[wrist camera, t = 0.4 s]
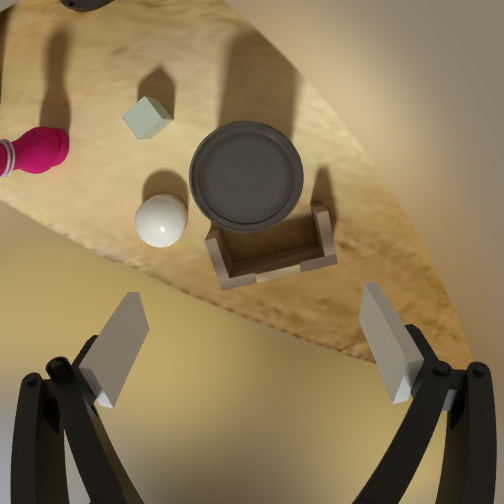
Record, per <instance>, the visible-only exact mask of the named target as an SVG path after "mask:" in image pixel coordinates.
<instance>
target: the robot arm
mask: <svg viewBox="0 0 504 504" xmlns="http://www.w3.org/2000/svg"><path fill="white" fill-rule="evenodd" d="M112 1H113V0H60V2H61V3H62V4H63V5H64V6H65V7H67V8H69V9H71V10H74V11H77V12H87V11H92V10H95V9H98V8H101V7H103V6H105V5H107V4H109V3H110V2H112ZM359 323H360V325H361V328H362V330H363V332H364V334H365V337H366V339H367V342H368V344H369V346H370V349H371V351H372V353H373V356H374V358H375V361H376V363H377V366H378V368H379V371H380V373H381V376H382V378H383V381H384V383H385V386H386V388H387V391H388V393H389V396H390V399H391V401H392V404H395V403H399V402H404V401H407V399H408V397H409V395H410V393H411V395H412V397H413V401H412V403H411V405H410V407H409V409H408V411H407V414H406V415H405V418H404V420H403V422H402V424H401V425H400V427H399V429H398V431H397V433H396V435H395V437H394V439H393V440H392V442H391V444H390V446H389V447H388V449H387V451H386V453H385V454H384V456H383V458H382V459H381V461H380V463H379V464H378V466H377V467H376V469H375V471H374V472H373V474H372V475H371V477H370V478H369V480H368V481H367V483H366V484H365V486H364V487H363V489H362V490H361V492H360V493H359V495H358V496H357V497H356V499H355V500H354V501H353V503H352V504H398V503H399V501H400V500H401V498H402V496H403V494H404V493H405V491H406V489H407V487H408V485H409V483H410V481H411V480H412V478H413V476H414V474H415V472H416V470H417V468H418V466H419V464H420V461H421V459H422V457H423V455H424V453H425V451H426V448H427V446H428V444H429V442H430V439H431V436H432V434H433V432H434V429H435V427H436V424H437V422H438V419H439V416H440V414H441V411H447V427H446V440H445V449H444V457H443V464H442V471H441V477H440V483H439V488H438V493H437V498H436V503H435V504H493V503H494V494H495V481H496V460H497V459H496V458H497V449H496V448H497V447H496V446H497V439H496V417H495V404H494V394H493V386H492V378H491V372H490V369H489V368H488V367H487V365H485V364H484V363H481V362H472V363H470V365H469V366H468V368H467V370H455V369H452V367H451V366H450V365H449V364H448V363H446V362H444V361H439V360H438V358H437V356H436V355H435V353H434V351H433V350H432V348H431V347H430V345H429V343H427V340H426V339H425V337H424V335H423V334H422V332H421V331H420V329H418V328H417V327H416V326H414V325H413V324H409V325H404V324H403V323H402V321H401V319H400V318H399V316H398V314H397V313H396V311H395V310H394V308H393V306H392V305H391V303H390V302H389V300H388V299H387V297H386V295H385V294H384V292H383V291H382V289H381V288H380V286H379V285H378V283H377V282H368V283H364V290H363V297H362V304H361V311H360V318H359ZM148 331H149V325H148V322H147V319H146V315H145V312H144V308H143V305H142V301H141V298H140V294H139V292H128V293H127V294H126V296H125V297H124V298H123V300H122V301H121V303H120V304H119V306H118V307H117V308H116V310H115V311H114V313H113V314H112V316H111V317H110V319H109V320H108V322H107V323H106V325H105V326H104V328H103V329H102V331H101V332H100V334H99V335H94V336H92V337H91V338H90V339H89V340H88V341H87V342H86V343H85V345H84V346H83V348H82V349H81V351H80V353H79V354H78V356H77V357H76V358H75V360H74V362H73V363H72V365H70V363H69V361H68V359H67V358H65V357H56V358H54V359H52V360H51V361H49V362H48V364H47V365H46V371H47V373H48V375H49V376H50V378H51V379H45V380H43V379H42V377H41V376H40V374H38V373H30V374H28V375H27V376H25V377H24V379H23V380H22V383H21V388H20V393H19V398H18V404H17V410H16V417H15V425H14V433H13V444H12V457H11V504H70V503H69V496H68V488H67V478H66V468H65V451H64V429H65V432H66V436H67V439H68V442H69V445H70V448H71V451H72V454H73V457H74V460H75V463H76V466H77V468H78V471H79V473H80V476H81V478H82V481H83V484H84V486H85V488H86V491H87V493H88V495H89V497H90V500H91V502H90V503H89V504H144V502H143V501H142V499H141V497H140V496H139V494H138V493H137V491H136V489H135V487H134V486H133V484H132V482H131V480H130V479H129V477H128V475H127V473H126V471H125V469H124V467H123V466H122V464H121V462H120V460H119V458H118V456H117V454H116V452H115V450H114V448H113V446H112V444H111V441H110V440H109V437H108V435H107V433H106V431H105V428H104V426H103V424H102V421H101V419H100V417H99V414H98V412H97V409H96V407H95V406H94V402H95V400H96V399H97V401H98V402H99V404H100V405H101V406H104V407H110V408H114V406H115V403H116V401H117V399H118V397H119V394H120V392H121V389H122V387H123V385H124V383H125V381H126V378H127V376H128V374H129V372H130V369H131V367H132V365H133V363H134V361H135V358H136V357H137V354H138V352H139V350H140V348H141V346H142V344H143V341H144V339H145V337H146V335H147V333H148Z"/></svg>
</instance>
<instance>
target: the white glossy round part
mask: <svg viewBox="0 0 504 504" xmlns="http://www.w3.org/2000/svg"><path fill="white" fill-rule="evenodd" d="M187 223H188V212H187V209H186V207H185V205H184V203H183V202H182V201H181V200H180V199H179V198H178V197H176V196H174V195H172V194H168V193H160V194H156V195H154V196H152V197H151V198H149V199H148V200H146V201H145V202H144V203H142V204H141V205H140V206H139V208H138V209H137V211H136V214H135V227H136V230H137V233H138V234H139V236H140V237H141V239H142V240H143V241H145V242H146V243H147V244H149V245H151V246H154V247H160V248H161V247H167V246H170V245H172V244H173V243H175V242H176V241H177V240H178V238H179V237H180V236H181V234H182V233H183V231H184V230H185V228H186V226H187Z"/></svg>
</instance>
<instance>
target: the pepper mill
mask: <svg viewBox="0 0 504 504" xmlns="http://www.w3.org/2000/svg"><path fill="white" fill-rule="evenodd" d="M68 150H69V142H68V138H67V135H66V134H65V132H64V131H63V130H61V129H59V128H51V129H49V128H48V127H43V126H40V127H36V128H33V129H31V130H29V131H27V132H26V133H25V134H23V135H22V136H21V137H20V138H19V139H17V140H15V141H13V142H10V141H9V140H7V139H2V140H0V178H3V177H6V176H8V175H9V174H10V173H11V172H12V171H13V170H16V169H21V170H23V171H26V172H28V173H33V174H38V173H43V172H45V171H47V170H49V169H50V168H51V167H53V166H57V165H59V164H61V163H62V162H63V161H64V160H65V158H66V156H67V154H68Z"/></svg>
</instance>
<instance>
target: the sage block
mask: <svg viewBox="0 0 504 504" xmlns="http://www.w3.org/2000/svg"><path fill="white" fill-rule="evenodd" d="M122 118H123V120H124V121H125V122H126V124H127V125H128V126H129V128H130V129H131V130H132V132H133V133H134V134H135V136H136V137H137V138H138V140H141V139H149V138H153V137H154V136H155V135H156V134H157V133H159V132H160V131H161V130H162V129H163V128H165V127H166V126H167V125H168V124H170V123H171V122H172V121H173V118H172V117H171V116H170V115H169V113H168V112H167V111H166V109H165V108H164V107H163V105H162V104H161V103H160V102H159V100H158V99H155V98H151V97H147V96H144V97H143V98H142V99H141V100H139V101H138V102H137V103H136V104H135V105H134V106H133V107H132V108H130V109H129V110H128V111H127V112H126V113H125V114H124V115H123V116H122Z"/></svg>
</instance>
